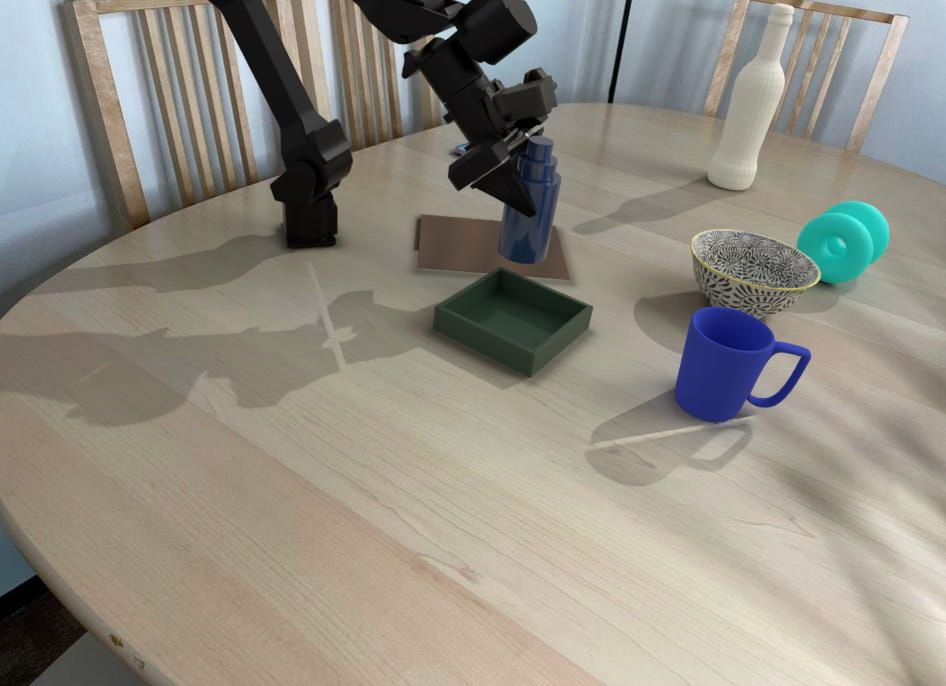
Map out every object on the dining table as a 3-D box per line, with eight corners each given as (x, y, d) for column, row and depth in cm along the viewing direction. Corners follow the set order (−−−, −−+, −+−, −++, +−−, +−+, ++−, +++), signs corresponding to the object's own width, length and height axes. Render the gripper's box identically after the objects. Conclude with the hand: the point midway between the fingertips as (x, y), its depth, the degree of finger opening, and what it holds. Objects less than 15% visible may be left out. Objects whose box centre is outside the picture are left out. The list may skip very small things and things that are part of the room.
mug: (786, 447, 75) (823, 368, 69) (666, 422, 76) (693, 342, 70) (775, 398, 81) (808, 322, 76) (665, 375, 83) (689, 299, 77)
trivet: (417, 271, 96) (417, 267, 96) (421, 217, 109) (421, 214, 109) (569, 283, 98) (570, 279, 97) (555, 229, 111) (555, 225, 111)
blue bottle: (517, 268, 87) (536, 153, 79) (487, 245, 91) (503, 133, 83) (556, 258, 90) (579, 147, 82) (526, 237, 94) (545, 128, 86)
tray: (432, 332, 85) (434, 306, 83) (496, 290, 94) (500, 265, 92) (529, 381, 79) (535, 354, 77) (587, 331, 89) (593, 306, 86)
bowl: (714, 265, 107) (730, 217, 102) (819, 315, 98) (842, 264, 94) (652, 299, 97) (666, 247, 92) (763, 357, 88) (785, 303, 84)
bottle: (755, 183, 136) (816, 7, 119) (744, 196, 130) (805, 12, 113) (713, 170, 139) (766, -3, 122) (699, 182, 133) (753, 2, 116)
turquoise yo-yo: (783, 268, 108) (808, 205, 103) (809, 249, 115) (834, 189, 109) (851, 297, 103) (881, 232, 97) (875, 275, 110) (904, 213, 104)
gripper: (490, 64, 71) (579, 200, 74) (544, 31, 85) (616, 146, 89) (409, 127, 77) (495, 249, 81) (473, 86, 92) (543, 191, 95)
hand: (541, 205), depth 86 cm, fingers closed on blue bottle, 6 cm apart
